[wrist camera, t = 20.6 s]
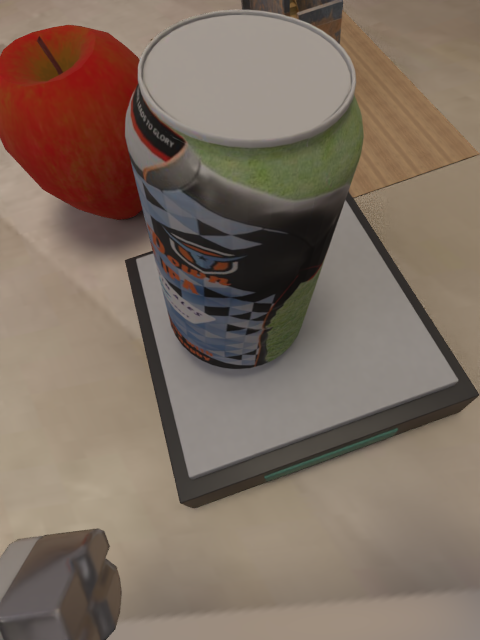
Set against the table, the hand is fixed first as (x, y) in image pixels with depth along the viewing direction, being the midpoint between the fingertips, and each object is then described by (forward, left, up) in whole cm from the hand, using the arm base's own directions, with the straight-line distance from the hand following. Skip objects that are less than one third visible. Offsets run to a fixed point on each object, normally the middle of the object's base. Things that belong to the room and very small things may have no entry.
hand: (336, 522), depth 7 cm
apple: (+22, +4, -12) cm, 26 cm away
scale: (+9, -2, -12) cm, 15 cm away
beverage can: (+9, -1, -9) cm, 13 cm away
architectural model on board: (+29, -10, -12) cm, 33 cm away
